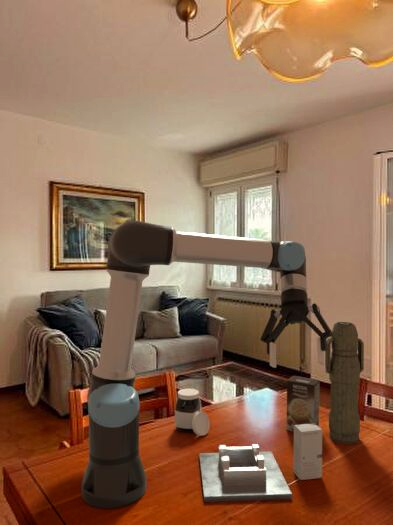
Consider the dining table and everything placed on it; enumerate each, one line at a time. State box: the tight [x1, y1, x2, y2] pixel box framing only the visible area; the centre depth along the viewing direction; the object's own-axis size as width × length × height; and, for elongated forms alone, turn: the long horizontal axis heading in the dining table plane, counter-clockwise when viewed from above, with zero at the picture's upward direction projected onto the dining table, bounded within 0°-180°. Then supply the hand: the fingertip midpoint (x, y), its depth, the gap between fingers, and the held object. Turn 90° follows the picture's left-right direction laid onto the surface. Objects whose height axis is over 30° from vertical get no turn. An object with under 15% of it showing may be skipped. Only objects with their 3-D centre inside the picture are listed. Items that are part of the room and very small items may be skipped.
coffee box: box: [285, 375, 320, 432], centre depth 128 cm, size 9×6×16 cm
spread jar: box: [174, 388, 211, 437], centre depth 129 cm, size 12×11×12 cm
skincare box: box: [292, 424, 323, 481], centre depth 102 cm, size 6×4×12 cm
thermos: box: [324, 321, 365, 445], centre depth 123 cm, size 9×12×35 cm
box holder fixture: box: [198, 443, 293, 503], centre depth 101 cm, size 20×20×6 cm
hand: (296, 365), depth 109 cm, fingers open, 13 cm apart
